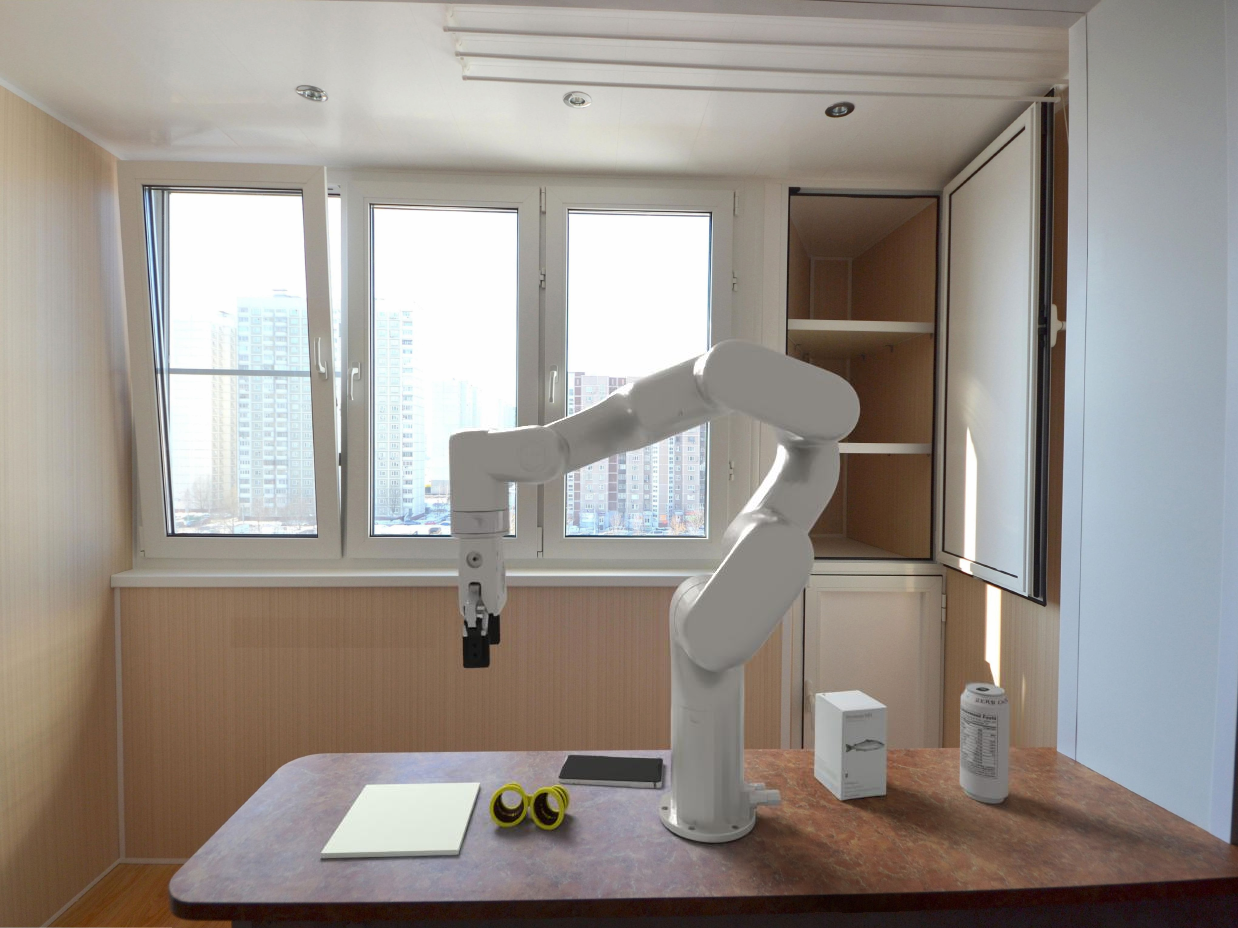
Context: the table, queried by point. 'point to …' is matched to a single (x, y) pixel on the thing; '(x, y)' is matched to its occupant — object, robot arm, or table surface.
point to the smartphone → (612, 771)
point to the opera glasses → (537, 804)
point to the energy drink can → (984, 742)
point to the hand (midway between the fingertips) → (482, 654)
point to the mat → (405, 821)
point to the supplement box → (850, 744)
